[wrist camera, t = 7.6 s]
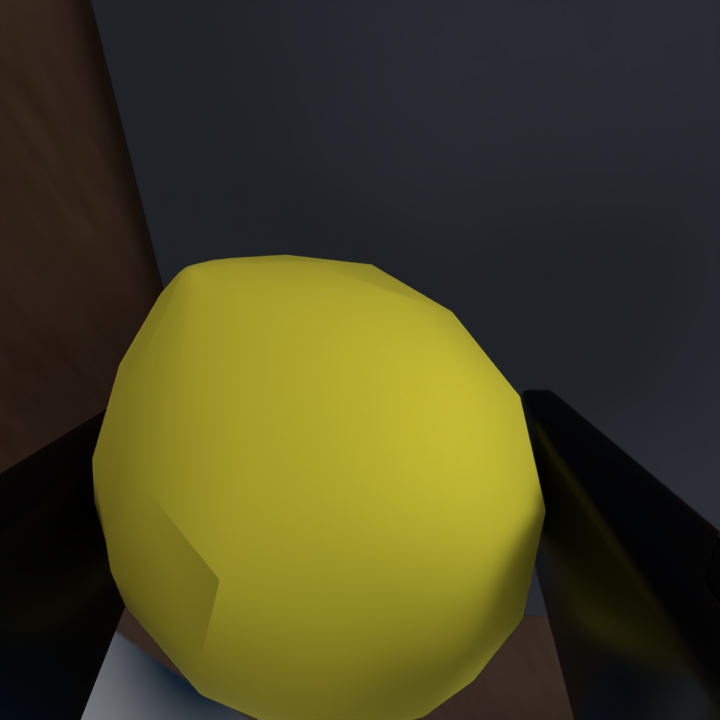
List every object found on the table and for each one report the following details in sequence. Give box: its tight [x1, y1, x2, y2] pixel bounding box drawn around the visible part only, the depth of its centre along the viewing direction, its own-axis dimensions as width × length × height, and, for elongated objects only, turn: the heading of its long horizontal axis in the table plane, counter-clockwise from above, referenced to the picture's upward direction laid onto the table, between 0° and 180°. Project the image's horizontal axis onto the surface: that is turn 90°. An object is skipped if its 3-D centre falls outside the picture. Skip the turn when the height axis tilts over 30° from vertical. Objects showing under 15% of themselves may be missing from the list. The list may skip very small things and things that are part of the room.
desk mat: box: [90, 0, 720, 616], centre depth 13 cm, size 13×20×1 cm, turn 3°
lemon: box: [92, 255, 546, 720], centre depth 8 cm, size 7×5×5 cm
